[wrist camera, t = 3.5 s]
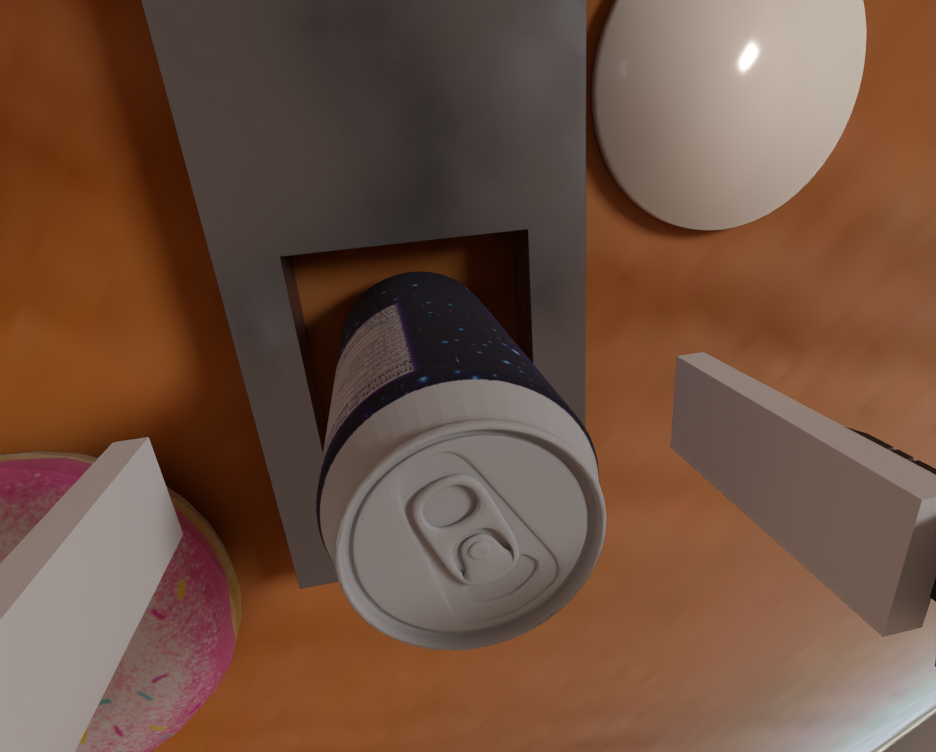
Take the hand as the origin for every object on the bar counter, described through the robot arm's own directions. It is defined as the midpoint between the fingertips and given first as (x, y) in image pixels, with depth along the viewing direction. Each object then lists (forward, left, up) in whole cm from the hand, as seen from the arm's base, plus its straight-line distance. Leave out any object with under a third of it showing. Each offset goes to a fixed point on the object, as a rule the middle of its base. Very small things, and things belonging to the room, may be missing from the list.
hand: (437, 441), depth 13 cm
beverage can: (0, 0, -8) cm, 8 cm away
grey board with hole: (-2, 0, -8) cm, 8 cm away
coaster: (-8, +12, -8) cm, 17 cm away
